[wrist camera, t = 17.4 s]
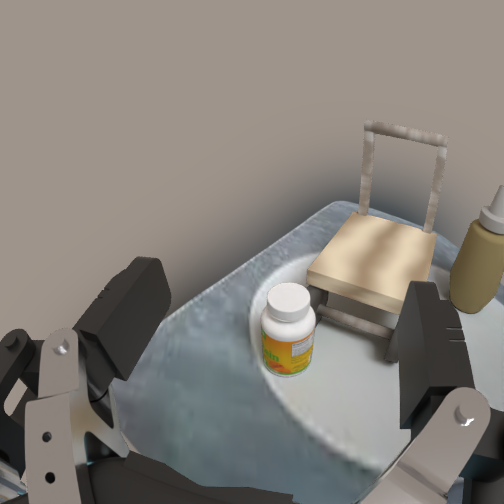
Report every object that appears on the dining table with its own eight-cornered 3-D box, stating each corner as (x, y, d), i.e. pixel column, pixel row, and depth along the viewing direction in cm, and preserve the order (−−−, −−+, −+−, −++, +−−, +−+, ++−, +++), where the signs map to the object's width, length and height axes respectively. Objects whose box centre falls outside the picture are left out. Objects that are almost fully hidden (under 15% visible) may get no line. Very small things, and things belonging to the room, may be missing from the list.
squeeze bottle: (450, 276, 43) (479, 169, 33) (491, 296, 38) (529, 189, 28) (435, 305, 38) (471, 185, 28) (482, 328, 33) (532, 210, 23)
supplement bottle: (254, 353, 35) (248, 290, 30) (293, 334, 37) (295, 270, 32) (280, 386, 31) (280, 326, 26) (320, 363, 33) (329, 300, 28)
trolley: (426, 268, 45) (454, 134, 33) (394, 373, 31) (456, 186, 18) (354, 247, 51) (364, 116, 39) (293, 334, 37) (295, 152, 25)
